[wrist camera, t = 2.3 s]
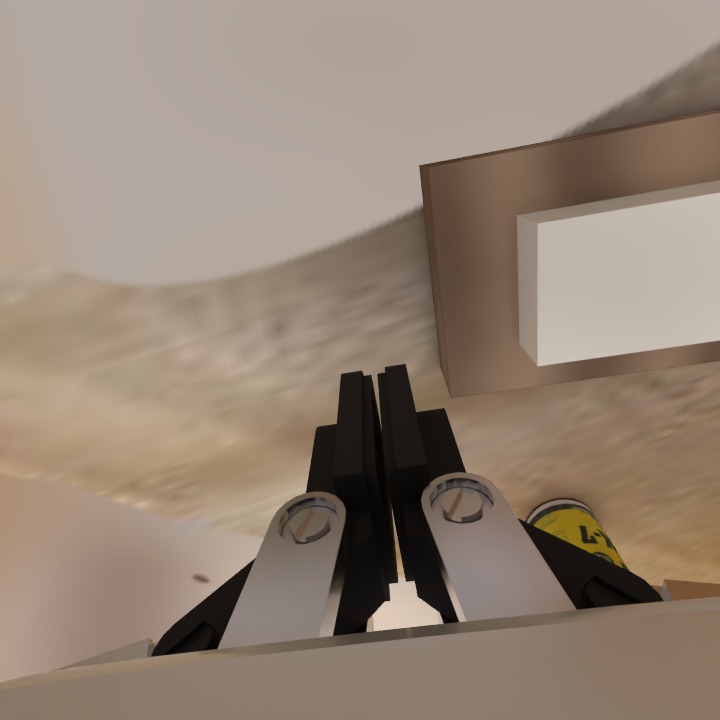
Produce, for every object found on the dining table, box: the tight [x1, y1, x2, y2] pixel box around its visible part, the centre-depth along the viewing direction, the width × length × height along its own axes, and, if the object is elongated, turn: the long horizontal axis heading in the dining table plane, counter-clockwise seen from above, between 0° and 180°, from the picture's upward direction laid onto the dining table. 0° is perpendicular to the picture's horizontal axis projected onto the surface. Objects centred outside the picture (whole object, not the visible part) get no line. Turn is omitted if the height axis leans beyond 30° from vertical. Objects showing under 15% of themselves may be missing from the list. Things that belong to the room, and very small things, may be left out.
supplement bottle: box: [527, 499, 629, 571], centre depth 27 cm, size 5×5×8 cm
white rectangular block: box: [517, 180, 720, 366], centre depth 18 cm, size 9×6×2 cm, turn 100°
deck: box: [419, 109, 720, 398], centre depth 21 cm, size 14×11×4 cm
